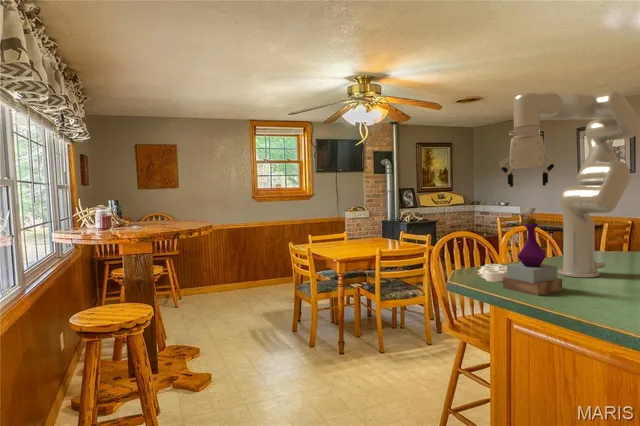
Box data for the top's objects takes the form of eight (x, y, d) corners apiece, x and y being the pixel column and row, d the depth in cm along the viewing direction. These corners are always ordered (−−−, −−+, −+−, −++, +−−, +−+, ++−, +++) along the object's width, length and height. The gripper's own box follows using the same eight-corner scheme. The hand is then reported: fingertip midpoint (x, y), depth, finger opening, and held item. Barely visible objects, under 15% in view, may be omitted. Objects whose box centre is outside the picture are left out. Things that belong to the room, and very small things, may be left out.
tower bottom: (527, 284, 145) (527, 272, 145) (562, 291, 135) (562, 279, 134) (503, 289, 139) (502, 277, 139) (537, 297, 129) (537, 284, 129)
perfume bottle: (545, 268, 132) (543, 208, 130) (518, 267, 135) (516, 209, 134) (546, 263, 138) (544, 206, 136) (520, 262, 142) (518, 207, 140)
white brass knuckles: (523, 284, 145) (477, 282, 150) (518, 273, 162) (477, 272, 167) (524, 274, 145) (477, 272, 150) (518, 264, 162) (476, 263, 167)
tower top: (529, 273, 143) (529, 261, 143) (557, 279, 134) (557, 266, 134) (507, 277, 139) (506, 264, 139) (533, 283, 130) (533, 270, 130)
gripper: (496, 134, 142) (497, 187, 143) (556, 129, 133) (557, 185, 134) (499, 136, 148) (500, 186, 149) (557, 131, 139) (558, 184, 140)
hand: (527, 186), depth 142 cm, fingers open, 9 cm apart
